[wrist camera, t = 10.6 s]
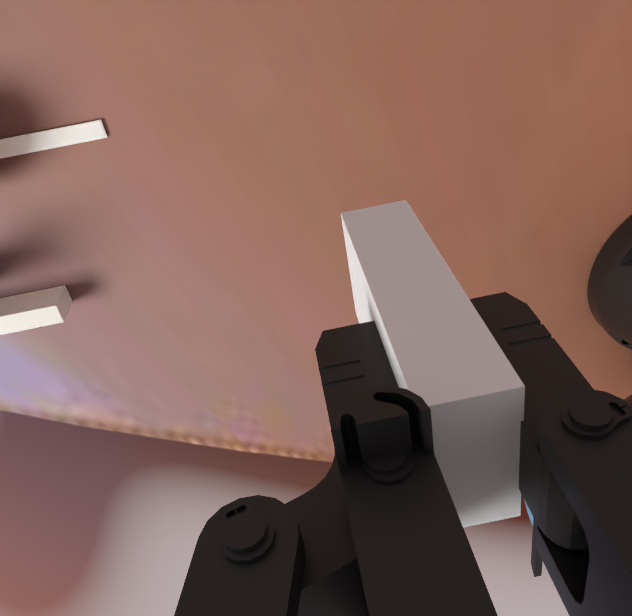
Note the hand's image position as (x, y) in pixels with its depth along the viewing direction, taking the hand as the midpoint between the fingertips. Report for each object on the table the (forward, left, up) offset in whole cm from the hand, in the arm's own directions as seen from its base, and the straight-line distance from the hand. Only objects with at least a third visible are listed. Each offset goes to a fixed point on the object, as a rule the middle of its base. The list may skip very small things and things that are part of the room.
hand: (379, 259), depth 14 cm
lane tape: (+18, +3, -30) cm, 35 cm away
